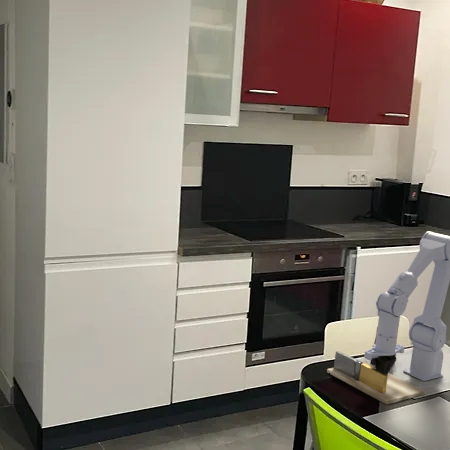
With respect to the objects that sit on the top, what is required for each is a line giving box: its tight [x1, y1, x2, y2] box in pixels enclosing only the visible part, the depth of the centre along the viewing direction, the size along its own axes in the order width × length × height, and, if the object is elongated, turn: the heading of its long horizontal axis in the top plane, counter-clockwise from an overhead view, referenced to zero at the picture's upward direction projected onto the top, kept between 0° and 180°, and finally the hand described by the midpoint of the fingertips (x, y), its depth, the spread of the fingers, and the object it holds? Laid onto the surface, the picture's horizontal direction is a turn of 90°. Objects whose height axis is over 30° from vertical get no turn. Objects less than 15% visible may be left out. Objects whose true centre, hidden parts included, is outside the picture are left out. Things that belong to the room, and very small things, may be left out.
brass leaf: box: [359, 364, 388, 393], centre depth 183 cm, size 1×9×5 cm, turn 34°
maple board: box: [326, 360, 426, 405], centre depth 189 cm, size 16×24×1 cm
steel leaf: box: [333, 350, 363, 381], centre depth 191 cm, size 2×10×5 cm, turn 35°
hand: (381, 379), depth 186 cm, fingers closed
